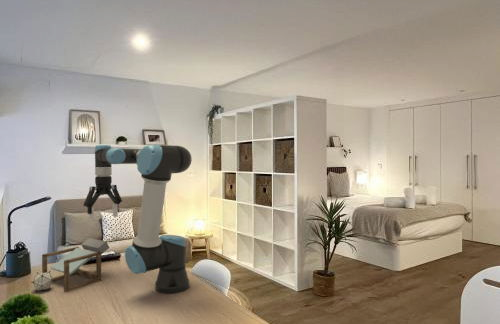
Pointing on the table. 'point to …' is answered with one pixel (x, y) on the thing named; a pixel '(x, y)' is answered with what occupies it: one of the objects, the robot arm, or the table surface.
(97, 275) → the frame
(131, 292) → the table surface
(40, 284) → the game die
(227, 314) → the table surface
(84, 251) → the chair seat
